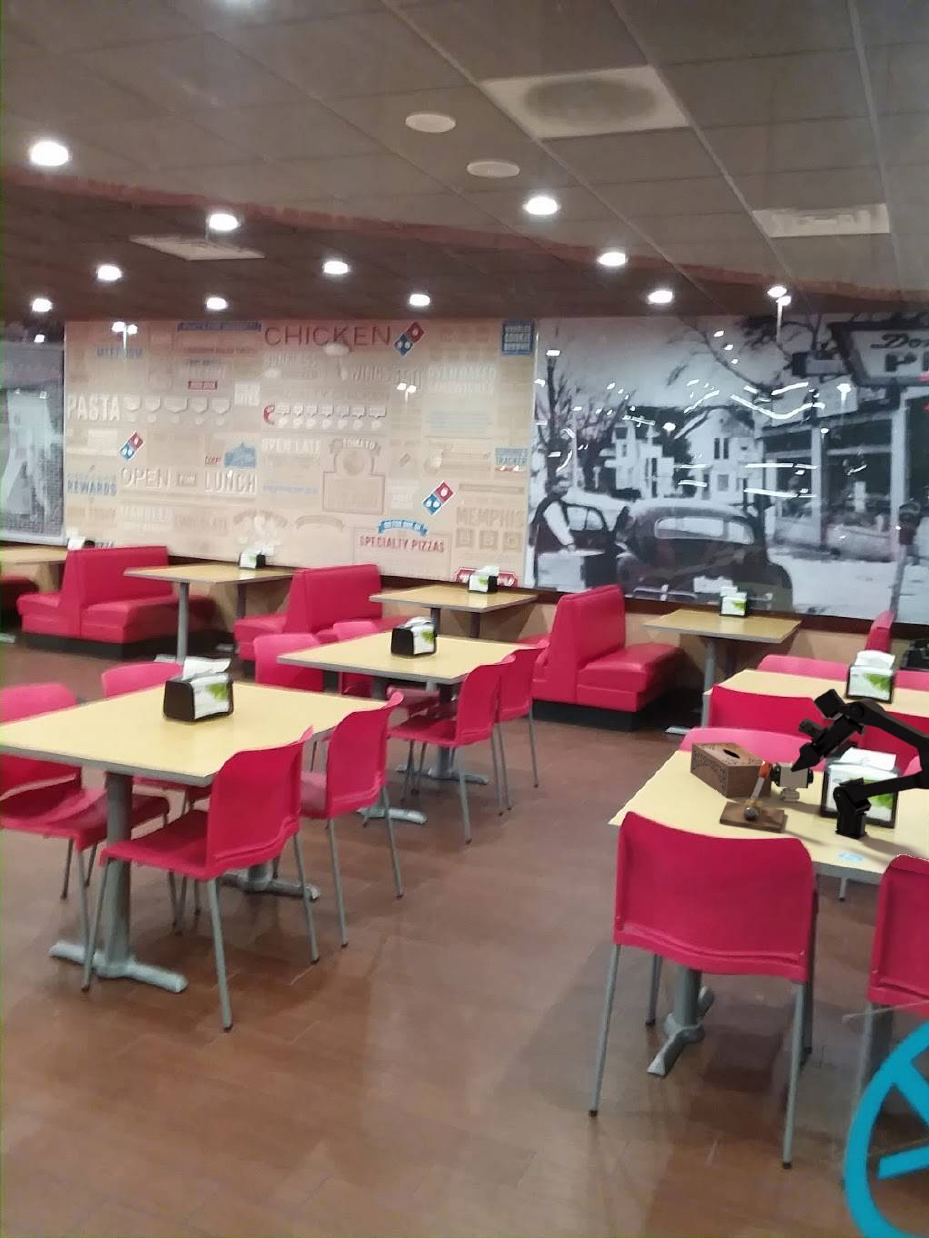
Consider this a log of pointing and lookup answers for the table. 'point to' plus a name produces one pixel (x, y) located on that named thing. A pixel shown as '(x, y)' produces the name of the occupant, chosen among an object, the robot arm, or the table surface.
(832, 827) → the table surface
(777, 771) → the pneumatic valve
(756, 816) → the valve body
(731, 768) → the tissue box cover
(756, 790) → the lever
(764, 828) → the mounting board
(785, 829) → the table surface
